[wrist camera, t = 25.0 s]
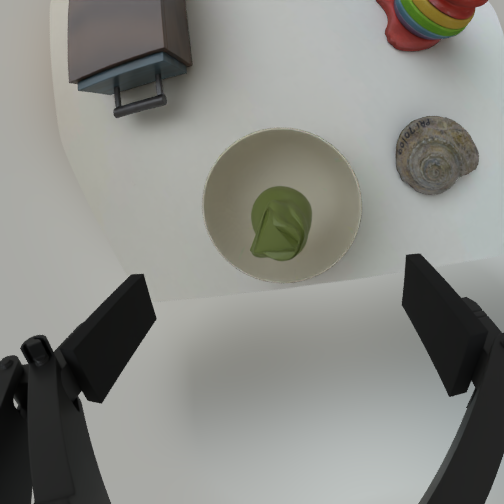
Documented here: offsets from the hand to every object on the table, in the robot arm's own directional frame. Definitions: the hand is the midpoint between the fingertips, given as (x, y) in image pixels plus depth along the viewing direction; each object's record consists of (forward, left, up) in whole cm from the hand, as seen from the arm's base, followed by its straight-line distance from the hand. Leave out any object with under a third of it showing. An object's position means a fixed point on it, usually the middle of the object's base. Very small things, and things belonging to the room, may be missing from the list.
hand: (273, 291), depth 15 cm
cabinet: (-16, +26, -27) cm, 41 cm away
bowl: (0, 0, -27) cm, 27 cm away
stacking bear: (+21, +24, -27) cm, 42 cm away
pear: (0, 0, -17) cm, 17 cm away
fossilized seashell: (+21, +4, -27) cm, 34 cm away
